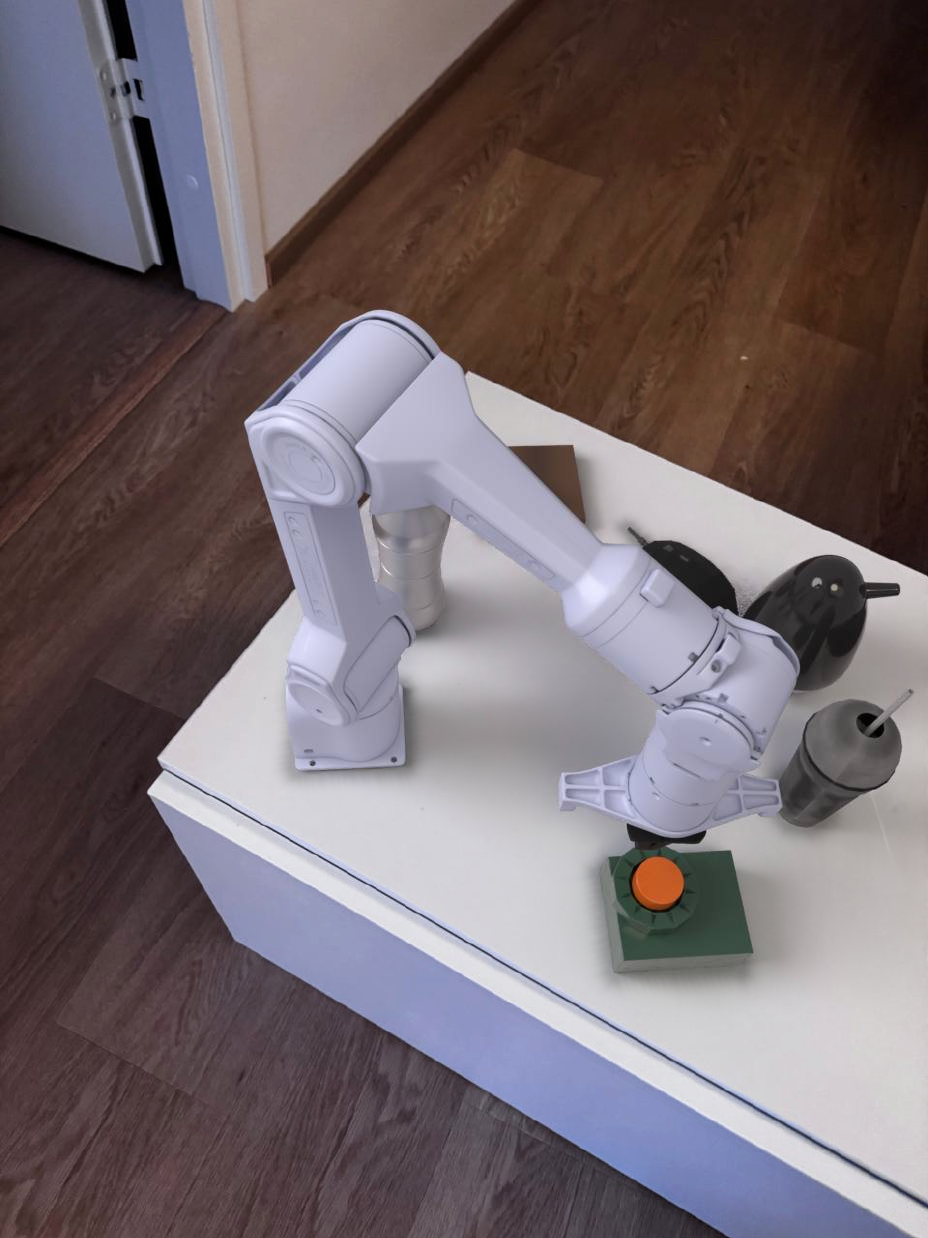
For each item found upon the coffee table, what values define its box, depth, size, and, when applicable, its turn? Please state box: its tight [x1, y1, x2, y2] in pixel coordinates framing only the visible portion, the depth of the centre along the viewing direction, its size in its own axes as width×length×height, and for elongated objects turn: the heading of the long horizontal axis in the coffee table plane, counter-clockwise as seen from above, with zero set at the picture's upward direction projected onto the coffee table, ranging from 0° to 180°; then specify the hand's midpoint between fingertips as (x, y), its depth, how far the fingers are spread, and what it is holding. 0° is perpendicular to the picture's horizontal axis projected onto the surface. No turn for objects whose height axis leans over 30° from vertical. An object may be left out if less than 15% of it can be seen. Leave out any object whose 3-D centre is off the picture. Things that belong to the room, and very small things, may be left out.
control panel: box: [506, 444, 587, 526], centre depth 100 cm, size 11×12×2 cm
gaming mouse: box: [627, 526, 739, 617], centre depth 95 cm, size 6×15×4 cm, turn 34°
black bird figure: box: [741, 554, 901, 694], centre depth 85 cm, size 10×10×15 cm
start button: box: [632, 857, 684, 910], centre depth 73 cm, size 4×4×2 cm
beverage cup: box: [777, 687, 915, 828], centre depth 76 cm, size 7×7×20 cm
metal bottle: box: [371, 505, 451, 632], centre depth 85 cm, size 6×7×20 cm
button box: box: [599, 846, 754, 974], centre depth 76 cm, size 10×8×6 cm
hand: (643, 836), depth 72 cm, fingers closed
